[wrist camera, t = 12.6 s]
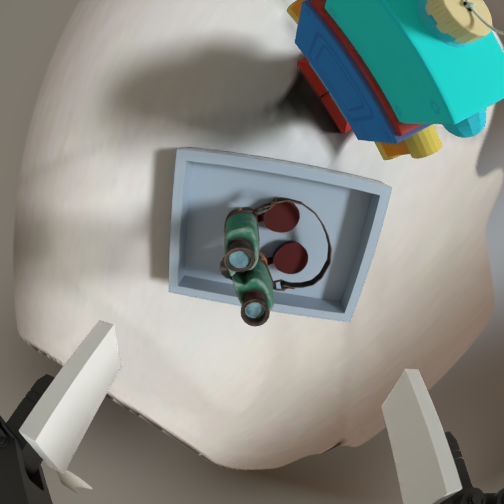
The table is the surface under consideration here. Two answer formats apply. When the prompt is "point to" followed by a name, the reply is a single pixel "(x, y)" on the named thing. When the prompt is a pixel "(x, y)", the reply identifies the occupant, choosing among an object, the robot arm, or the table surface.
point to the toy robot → (401, 68)
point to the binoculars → (264, 256)
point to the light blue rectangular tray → (306, 231)
